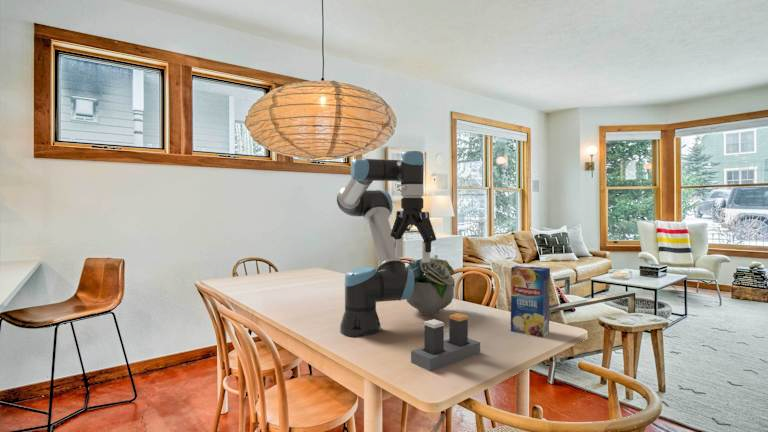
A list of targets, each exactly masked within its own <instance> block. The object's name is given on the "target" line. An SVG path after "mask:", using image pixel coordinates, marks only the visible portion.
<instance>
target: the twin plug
mask: <svg viewBox="0 0 768 432" xmlns="http://www.w3.org/2000/svg"><path fill="white" fill-rule="evenodd" d="M423 324H424V330H423V331H424V333H423V334H424V336H423V337H424V345H423V347H424V351H425V352H427V353H430V354H432V355H436V354H439V353H442V352H444V332H445V330H444V329H445V322H443V321H441V320H437V319H435V318H433V319H429V320H425V321H424V322H423Z"/></svg>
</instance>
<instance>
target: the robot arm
mask: <svg viewBox="0 0 768 432" xmlns="http://www.w3.org/2000/svg"><path fill="white" fill-rule="evenodd" d="M424 160H425V159H424V153H423V152H422V151H420V150H406V151H402V153H401V158H400V159H377V158H364V157H363V158H354V159H353V160H352V161H351V165H350V179H349V180H348V182H347V184H346V185H345V187H343V188H341V189H340V190H339V192H338V194H337V196H336V204H337V206H338V209H340V210H341V212H343V213H344V214H346V215H347V216H350V217H363V218H364V222H366V223H367V224H368V225H369V229H370V232H371V238H372V240H373V242H372V243H373V245H374V250H375V253H376V258H377V262H378V267H377V268H376V267H374V266H361V267H356V268H353V269H350V270H348V271H346V274H345V276H344V312H343V315H342V319H341V323H340V325H339V326H340V329H339V330H340V332H339V333H341V334H342V335H345V336H347V337H356V338H361V337H364V336H371V335H374V334H377V333H381V331H382V330H381V329H382V328H381V327H382V326H381V325H382V324H381V321H380V318H379V315H378V312H377V303H379V302H380V303H381V302H390V301H391V302H392V301H393V302H394V301H404V300H406V299H409V298H410V297H411V296H412V294H413V291H414V283H415V280H414V273H413V271H412V270H411V269H406V267H407V265H406V263H405V262H404V261H403V260H401V258H403V256H404V255H403V253H404V252H403V250H404V249H403V246H404V239H403V236H404V234H405V231H406V230H408V229H407V228H408V227H409V226H410V225H411V226H414V227H416V229H417V231H418V232H419V234H420V236H421V238H422V240H423V241H422V244H421V245H422V246H421V247H422V252H421V254H422V255H421V256H422V258H421V259H422V262H423V263H425V262H430V258H431V253H432V252H431V251H432V243H433V242H435V241H436V240H437V237H436V233H435V231H434V228H433V225H432V221H431V219H430V212H429V211H422V210H423V209H424V198H423V197H424V195H425V194H424V169H425V166H424V165H425V161H424ZM374 181H375V182H376V181H377V182H379V181H380V182H384V181H385V182H387V181H388V182H400V183H401V186H400V187H401V190H400V191H401V194H400V195H401V199H400V205H401V206H400V207H401V209H403V210H397V211H396V216H395V220H394V222H393V226H392V227H391V224H390V221H389V219H390V217H391V215H392V213H393V208H394V205H393V199H392V196H391V195H390V193H389V192H388V191H387V190H380V189H376V190H372V189H371V190H368V188H369V187H370V186H371V184H372V183H373V182H374Z"/></svg>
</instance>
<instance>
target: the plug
mask: <svg viewBox="0 0 768 432" xmlns="http://www.w3.org/2000/svg"><path fill="white" fill-rule="evenodd" d="M448 318H449V326H448V327H449V331H448V332H449V343H451V344H453V345H456V346H459V347H461V346H464V345H467V344H468V338H469V337H468V336H469V333H468V332H469V327H468V326H469V315H466V314H463V313H460V312H456V313H453V314H449V316H448Z"/></svg>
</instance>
